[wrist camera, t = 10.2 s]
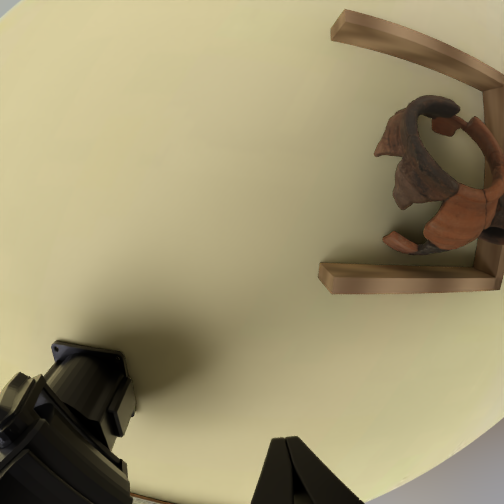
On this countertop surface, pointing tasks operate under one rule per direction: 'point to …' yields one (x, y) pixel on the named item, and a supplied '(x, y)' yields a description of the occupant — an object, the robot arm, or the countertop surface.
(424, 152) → the pottery mug
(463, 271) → the walnut bay
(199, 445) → the countertop surface
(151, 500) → the tin
